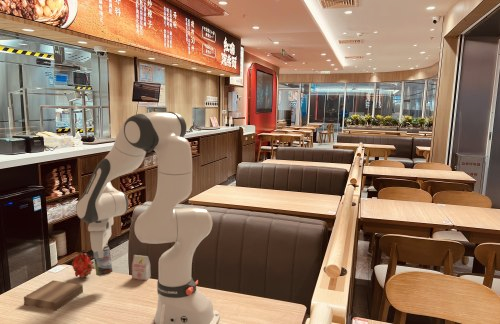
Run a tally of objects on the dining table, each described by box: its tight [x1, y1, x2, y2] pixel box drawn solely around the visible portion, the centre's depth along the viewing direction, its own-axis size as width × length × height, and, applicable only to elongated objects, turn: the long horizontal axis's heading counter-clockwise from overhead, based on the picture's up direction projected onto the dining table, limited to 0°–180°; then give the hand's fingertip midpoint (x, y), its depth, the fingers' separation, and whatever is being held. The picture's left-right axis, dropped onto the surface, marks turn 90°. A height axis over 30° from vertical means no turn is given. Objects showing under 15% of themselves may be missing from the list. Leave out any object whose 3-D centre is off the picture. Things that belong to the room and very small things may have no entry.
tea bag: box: [131, 254, 152, 282], centre depth 158 cm, size 4×7×10 cm, turn 76°
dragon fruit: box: [71, 249, 95, 279], centre depth 157 cm, size 8×8×12 cm
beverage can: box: [92, 244, 113, 277], centre depth 147 cm, size 6×7×12 cm
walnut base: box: [23, 280, 84, 311], centre depth 140 cm, size 14×14×4 cm
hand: (102, 254), depth 147 cm, fingers closed on beverage can, 5 cm apart
